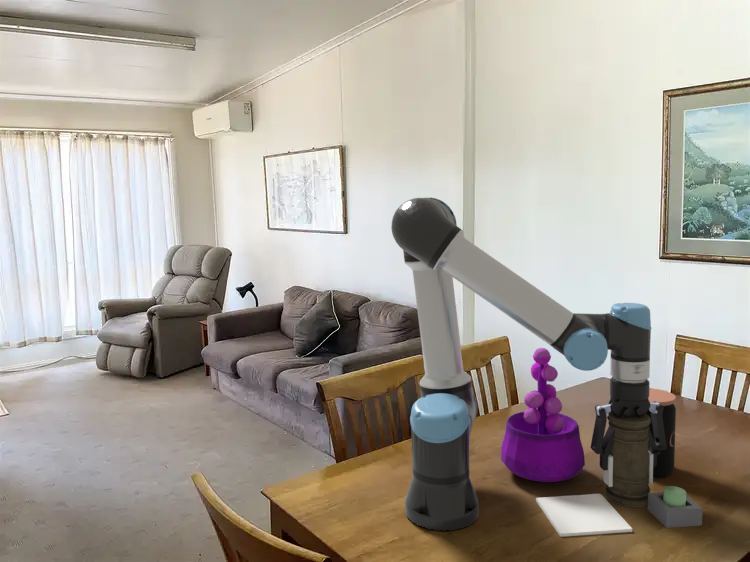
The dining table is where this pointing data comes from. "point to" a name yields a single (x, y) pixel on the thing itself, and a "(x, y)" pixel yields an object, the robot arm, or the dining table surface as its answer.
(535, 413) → the decorative plant
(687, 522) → the button housing
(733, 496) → the dining table surface
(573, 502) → the paper sheet
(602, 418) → the robot arm
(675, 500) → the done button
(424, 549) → the dining table surface
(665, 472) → the coffee jar
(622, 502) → the container
